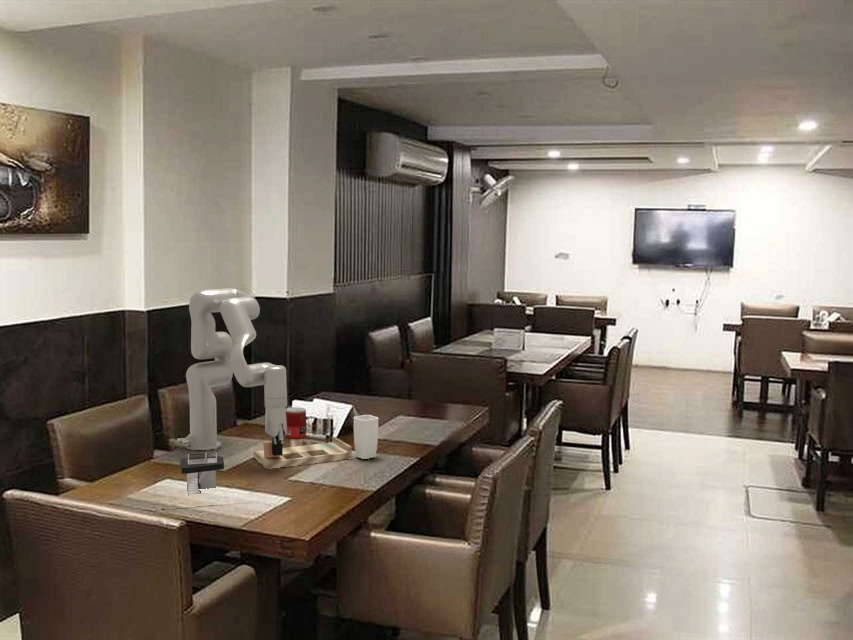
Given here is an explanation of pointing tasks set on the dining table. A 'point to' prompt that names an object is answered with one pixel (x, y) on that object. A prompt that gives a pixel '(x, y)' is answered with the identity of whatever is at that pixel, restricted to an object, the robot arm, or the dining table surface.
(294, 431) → the canned food
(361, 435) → the cup
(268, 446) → the block
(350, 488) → the dining table surface
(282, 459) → the board
